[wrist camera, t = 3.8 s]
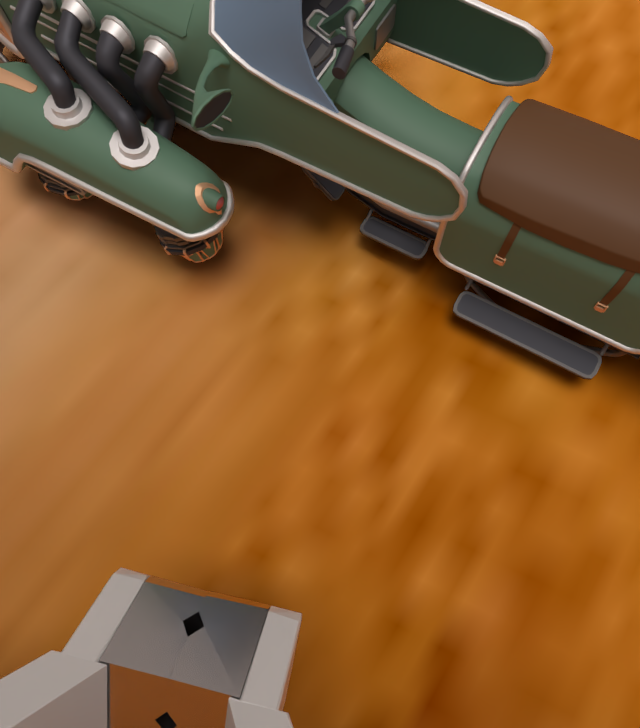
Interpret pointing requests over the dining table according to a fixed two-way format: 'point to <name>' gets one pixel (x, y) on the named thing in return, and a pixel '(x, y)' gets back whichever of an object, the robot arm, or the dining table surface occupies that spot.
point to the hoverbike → (339, 142)
